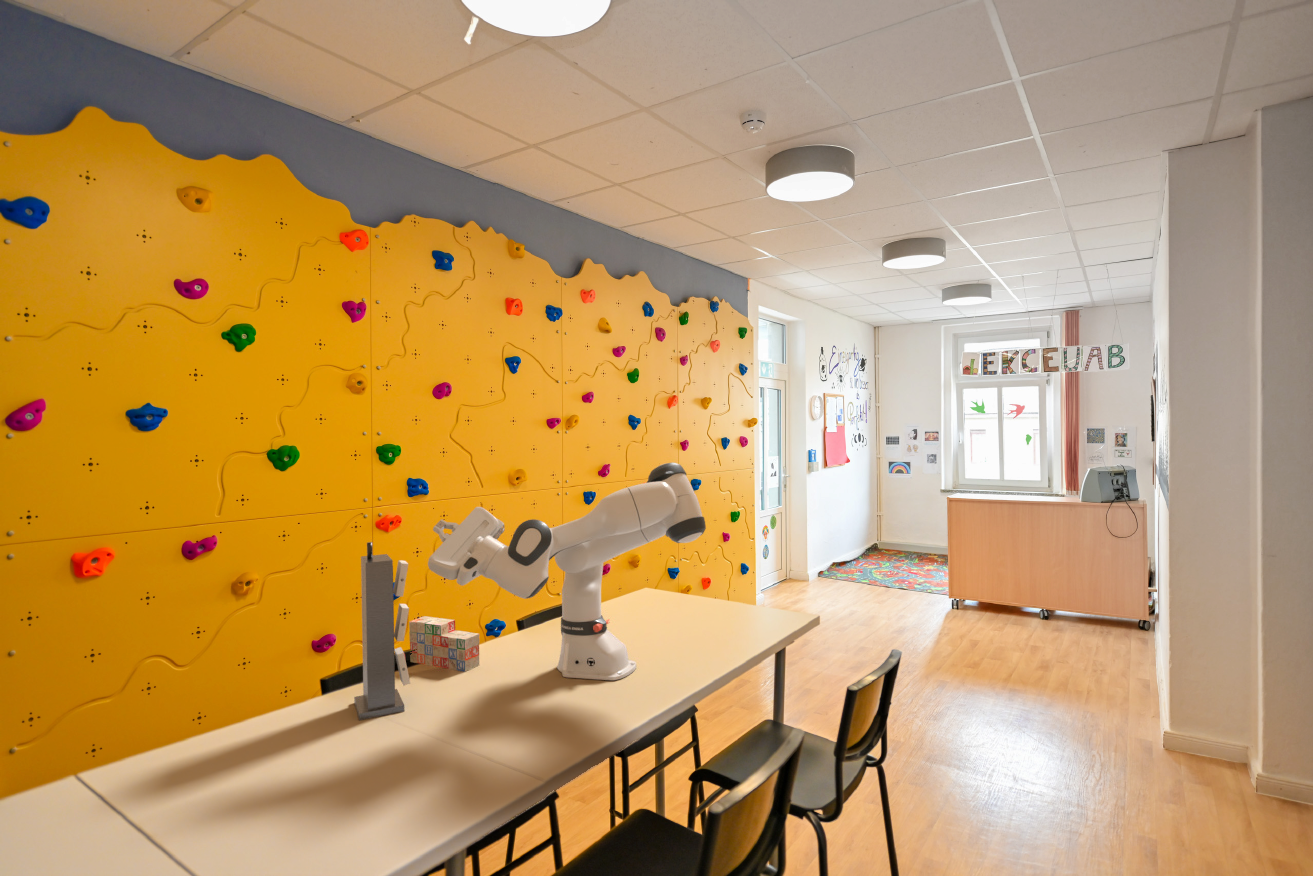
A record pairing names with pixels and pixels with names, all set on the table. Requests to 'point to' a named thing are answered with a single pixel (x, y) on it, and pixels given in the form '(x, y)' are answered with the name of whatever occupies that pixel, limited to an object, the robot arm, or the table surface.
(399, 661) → the bottom rocker
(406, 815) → the table surface
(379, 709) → the power strip
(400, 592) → the top rocker
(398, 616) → the middle rocker
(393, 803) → the table surface
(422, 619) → the stack of blocks
